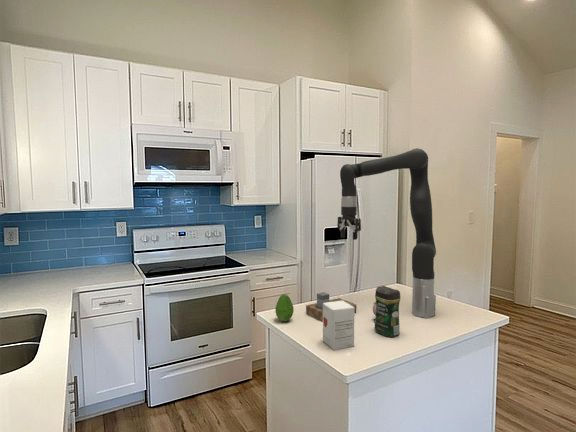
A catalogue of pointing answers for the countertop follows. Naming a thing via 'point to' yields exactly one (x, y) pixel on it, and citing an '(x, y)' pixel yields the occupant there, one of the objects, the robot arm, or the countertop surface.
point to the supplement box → (338, 324)
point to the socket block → (318, 313)
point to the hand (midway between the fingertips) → (348, 238)
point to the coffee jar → (387, 311)
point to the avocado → (284, 308)
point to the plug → (322, 299)
